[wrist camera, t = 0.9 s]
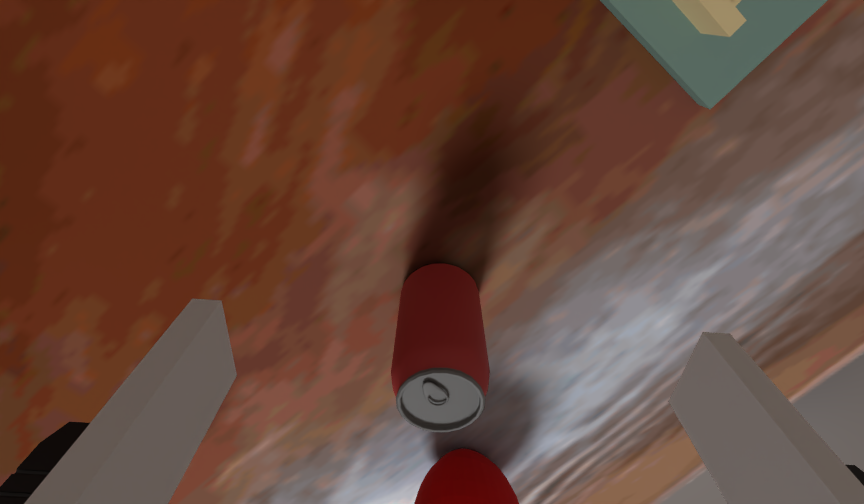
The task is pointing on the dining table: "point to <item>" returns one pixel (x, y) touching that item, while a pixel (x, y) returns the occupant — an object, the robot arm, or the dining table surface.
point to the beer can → (440, 350)
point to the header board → (711, 37)
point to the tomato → (465, 481)
